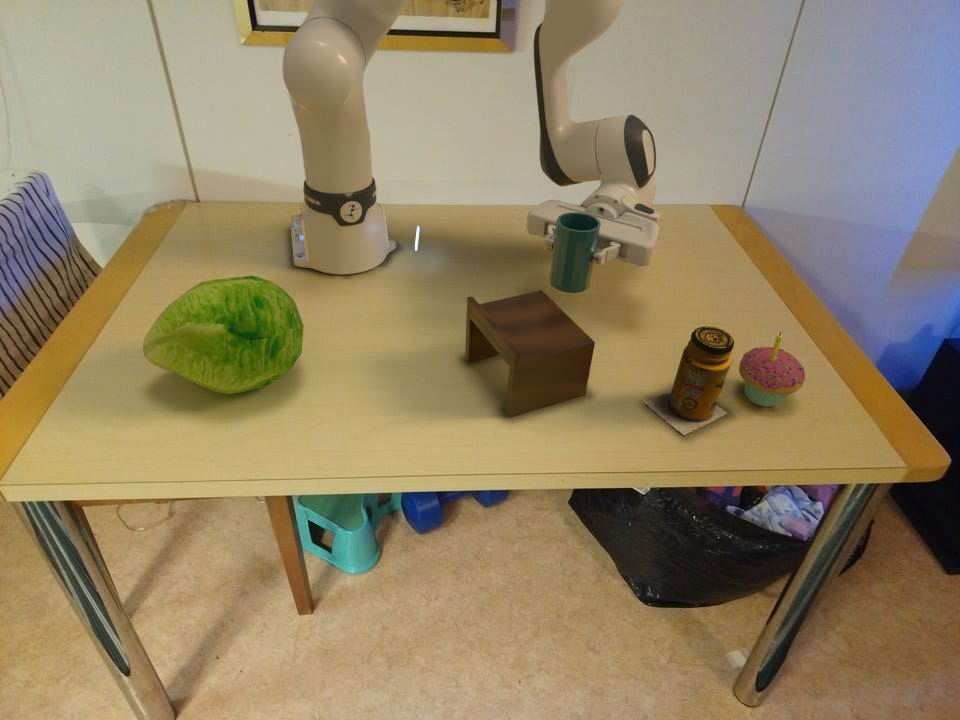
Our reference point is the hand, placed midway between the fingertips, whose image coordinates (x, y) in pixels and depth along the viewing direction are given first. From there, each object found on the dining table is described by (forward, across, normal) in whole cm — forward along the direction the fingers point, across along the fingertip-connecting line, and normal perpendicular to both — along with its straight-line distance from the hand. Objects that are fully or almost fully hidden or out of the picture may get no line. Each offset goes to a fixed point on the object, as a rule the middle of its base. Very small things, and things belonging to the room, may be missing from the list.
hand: (572, 252), depth 96 cm
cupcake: (0, +31, +13) cm, 34 cm away
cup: (-1, 0, +6) cm, 6 cm away
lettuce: (+36, -33, +14) cm, 51 cm away
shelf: (+14, 0, +14) cm, 19 cm away
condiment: (+9, +22, +14) cm, 27 cm away
